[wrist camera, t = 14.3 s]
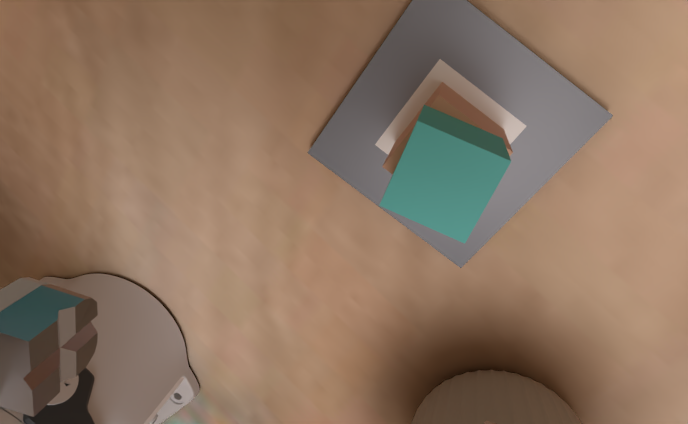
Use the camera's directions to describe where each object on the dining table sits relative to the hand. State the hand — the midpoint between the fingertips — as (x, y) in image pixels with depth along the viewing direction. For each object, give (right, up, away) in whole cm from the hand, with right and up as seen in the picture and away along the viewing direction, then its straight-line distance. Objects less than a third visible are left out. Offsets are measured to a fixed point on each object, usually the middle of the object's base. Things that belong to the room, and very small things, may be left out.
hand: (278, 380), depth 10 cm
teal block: (+7, +6, +16) cm, 19 cm away
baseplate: (+8, +9, +23) cm, 26 cm away
